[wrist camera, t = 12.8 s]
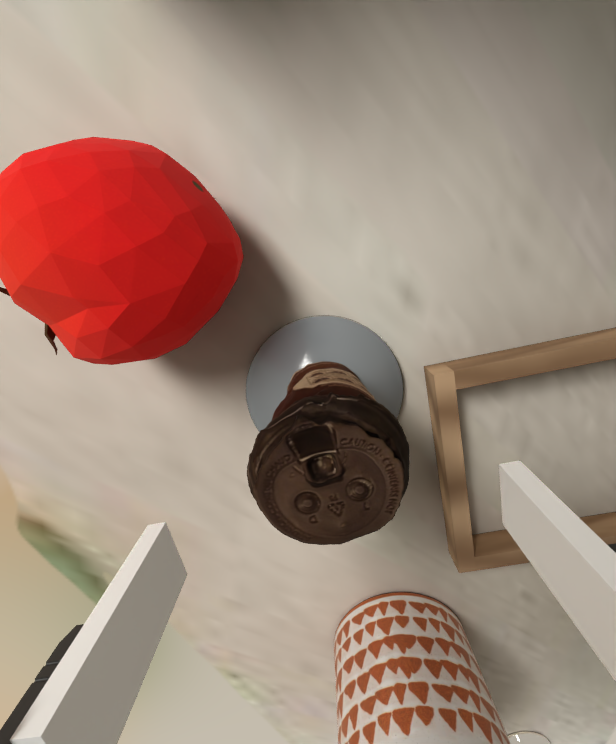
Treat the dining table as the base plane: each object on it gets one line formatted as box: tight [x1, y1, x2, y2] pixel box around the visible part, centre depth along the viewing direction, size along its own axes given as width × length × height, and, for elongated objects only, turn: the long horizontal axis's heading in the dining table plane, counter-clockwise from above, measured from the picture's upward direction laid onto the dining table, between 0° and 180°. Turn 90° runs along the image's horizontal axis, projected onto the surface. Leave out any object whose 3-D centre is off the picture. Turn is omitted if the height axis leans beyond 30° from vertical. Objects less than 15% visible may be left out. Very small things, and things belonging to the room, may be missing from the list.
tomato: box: [0, 137, 243, 365], centre depth 21 cm, size 13×13×13 cm
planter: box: [334, 592, 510, 744], centre depth 31 cm, size 14×14×13 cm
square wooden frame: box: [424, 328, 616, 573], centre depth 29 cm, size 19×19×2 cm
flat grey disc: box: [246, 315, 403, 432], centre depth 29 cm, size 13×13×1 cm
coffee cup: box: [247, 361, 409, 545], centre depth 22 cm, size 9×8×13 cm
